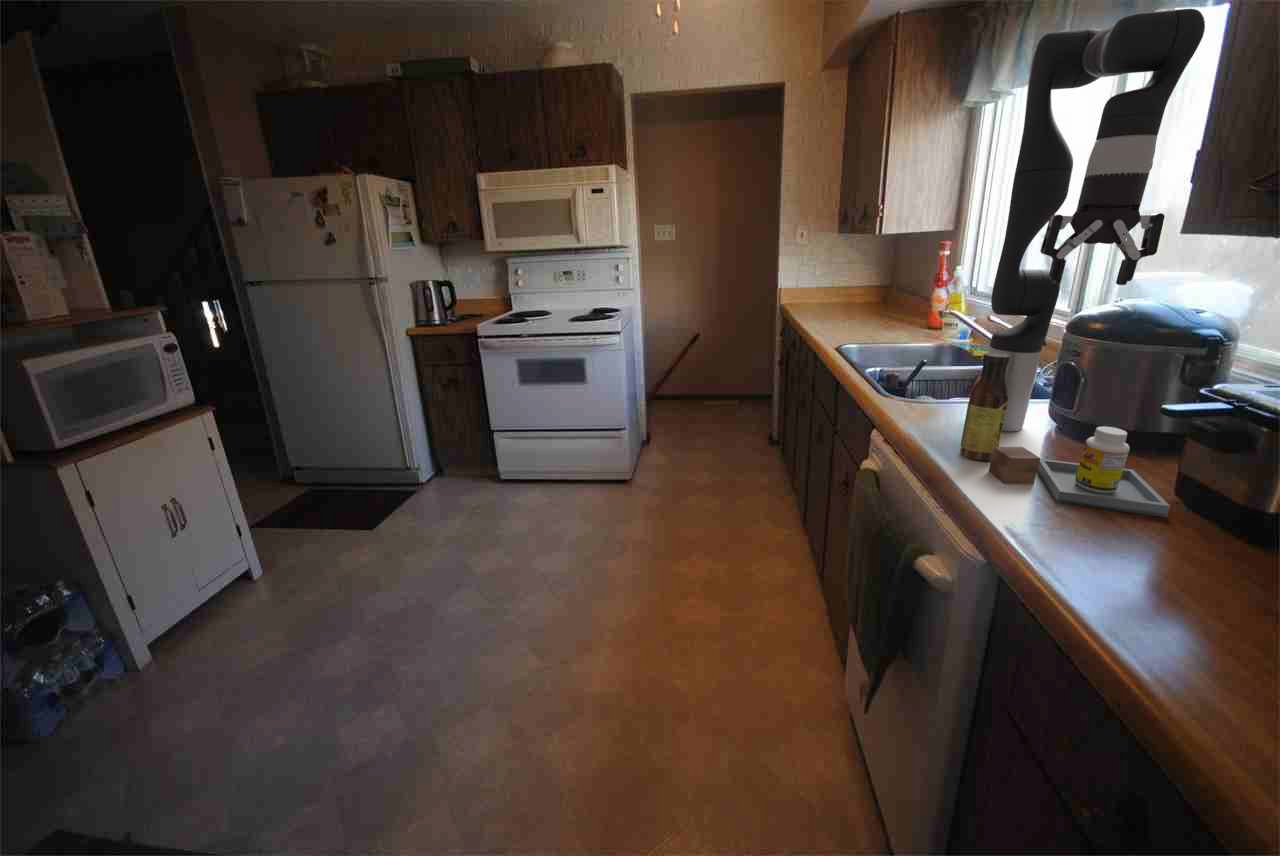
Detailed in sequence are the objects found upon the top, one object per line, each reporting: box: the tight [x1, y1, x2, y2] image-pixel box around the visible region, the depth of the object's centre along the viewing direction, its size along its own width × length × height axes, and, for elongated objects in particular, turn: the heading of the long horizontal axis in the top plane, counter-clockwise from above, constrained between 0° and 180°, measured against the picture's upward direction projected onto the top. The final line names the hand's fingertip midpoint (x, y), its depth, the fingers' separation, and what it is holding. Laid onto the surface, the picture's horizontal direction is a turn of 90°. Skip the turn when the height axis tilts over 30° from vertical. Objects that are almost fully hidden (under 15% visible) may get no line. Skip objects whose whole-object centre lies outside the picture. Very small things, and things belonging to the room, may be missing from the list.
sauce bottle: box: [960, 352, 1010, 462], centre depth 104 cm, size 6×6×20 cm
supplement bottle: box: [1075, 425, 1131, 493], centre depth 92 cm, size 6×6×10 cm
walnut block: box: [987, 446, 1042, 485], centre depth 98 cm, size 5×5×5 cm
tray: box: [1037, 458, 1171, 519], centre depth 93 cm, size 14×14×2 cm
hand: (1087, 284), depth 89 cm, fingers open, 8 cm apart
